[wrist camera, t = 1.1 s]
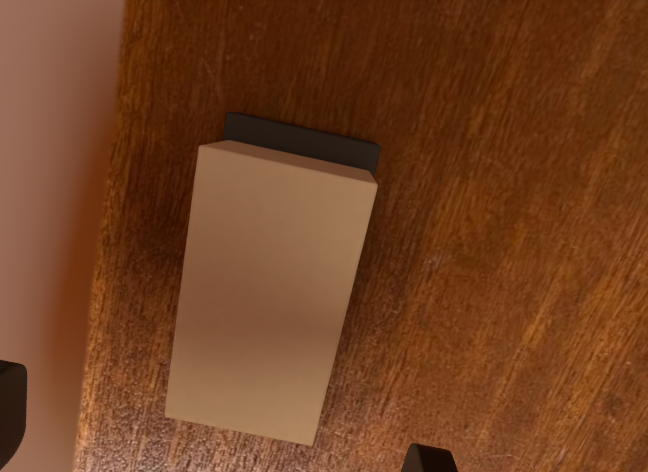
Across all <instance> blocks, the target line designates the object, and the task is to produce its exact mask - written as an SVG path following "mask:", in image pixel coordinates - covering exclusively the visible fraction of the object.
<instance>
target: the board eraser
mask: <svg viewBox="0 0 648 472" xmlns="http://www.w3.org/2000/svg"><path fill="white" fill-rule="evenodd" d="M380 149H381V147H380V146H379V145H378V144H376V143H374V142H369V141H365V140H360V139H356V138H351V137H347V136H342V135H337V134H333V133H328V132H324V131H319V130H315V129H310V128H306V127H301V126H297V125H292V124H288V123H283V122H279V121H274V120H270V119H265V118H261V117H256V116H252V115H247V114H243V113H235V112H227V113H226V118H225V125H224V132H223V139H222V141H221V142H216V143H211V144H206V145H200V146H199V148H198V156H197V164H196V172H195V179H194V187H193V195H192V203H191V210H190V218H189V226H188V234H187V241H186V249H185V257H184V265H183V272H182V280H181V288H180V296H179V303H178V311H177V319H176V327H175V334H174V342H173V350H172V358H171V365H170V373H169V381H168V389H167V396H166V404H165V412H164V416H165V417H168V418H173V419H178V420H183V421H188V422H193V423H198V424H203V425H208V426H213V427H218V428H223V429H228V430H233V431H238V432H243V433H249V434H254V435H259V436H264V437H269V438H274V439H279V440H284V441H289V442H294V443H299V444H304V445H309V446H312V445H313V443H314V439H315V435H316V431H317V427H318V423H319V419H320V415H321V411H322V407H323V403H324V399H325V395H326V391H327V387H328V383H329V379H330V375H331V371H332V367H333V363H334V359H335V355H336V351H337V347H338V343H339V339H340V335H341V331H342V327H343V323H344V319H345V315H346V311H347V307H348V303H349V299H350V295H351V291H352V287H353V283H354V279H355V275H356V271H357V267H358V263H359V259H360V255H361V251H362V247H363V243H364V239H365V236H366V232H367V228H368V224H369V220H370V216H371V212H372V208H373V204H374V200H375V196H376V192H377V188H378V185H377V183H376V181H375V180H374V178H373V177H374V173H375V169H376V165H377V161H378V157H379V153H380Z"/></svg>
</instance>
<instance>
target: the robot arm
mask: <svg viewBox="0 0 648 472" xmlns="http://www.w3.org/2000/svg"><path fill="white" fill-rule="evenodd" d="M26 400H27V370H26V368H25V366H24V365H22V364H19V363H13V362H8V361H3V360H0V470H1V469H2V468H3V467H4V466H5V465H6V464H7V463H8V462H9V460H10V459H11V458H12V457H13V455H14V454H15V452H16V451H17V449H18V447H19V445H20V443H21V441H22V439H23V436H24V433H25V428H26ZM401 472H458V471H457V468H456V465H455V462H454V459H453V457H452V454H451V453H450V451H449V450H446V449H441V448H436V447H431V446H426V445H421V444H416V443H412V444H411V445H410V446H409V448H408V451H407V454H406V457H405V460H404V463H403V466H402V470H401Z"/></svg>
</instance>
